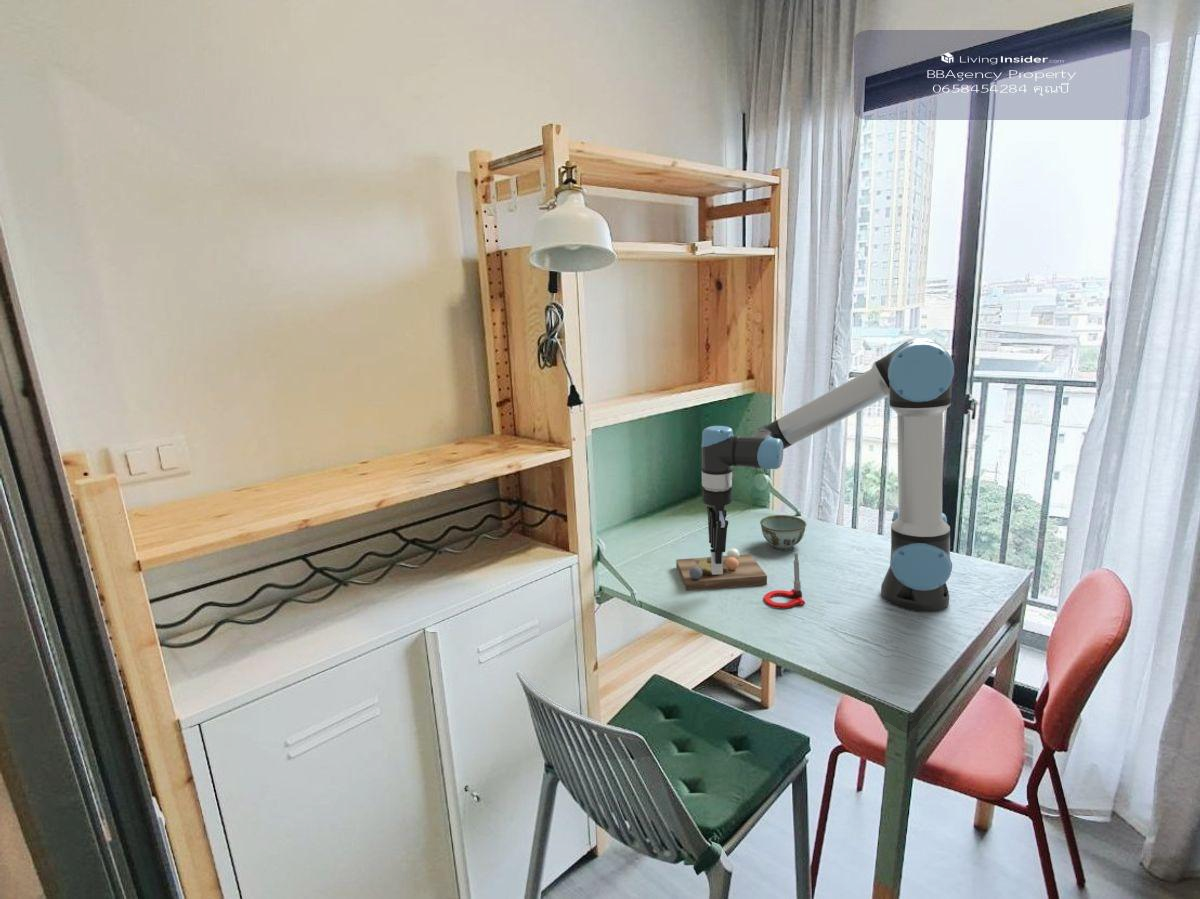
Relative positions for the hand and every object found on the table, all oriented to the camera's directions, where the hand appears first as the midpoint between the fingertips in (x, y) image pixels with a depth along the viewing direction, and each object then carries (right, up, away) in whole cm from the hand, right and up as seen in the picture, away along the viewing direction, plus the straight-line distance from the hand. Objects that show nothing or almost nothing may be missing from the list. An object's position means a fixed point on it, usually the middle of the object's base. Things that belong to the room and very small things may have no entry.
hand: (717, 573), depth 158 cm
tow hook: (+16, -6, -4) cm, 18 cm away
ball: (+6, +1, +9) cm, 11 cm away
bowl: (+26, +2, +29) cm, 39 cm away
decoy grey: (-5, -1, +4) cm, 7 cm away
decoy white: (+8, +2, +15) cm, 17 cm away
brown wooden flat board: (+3, -3, +12) cm, 12 cm away
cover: (0, -1, +9) cm, 9 cm away
